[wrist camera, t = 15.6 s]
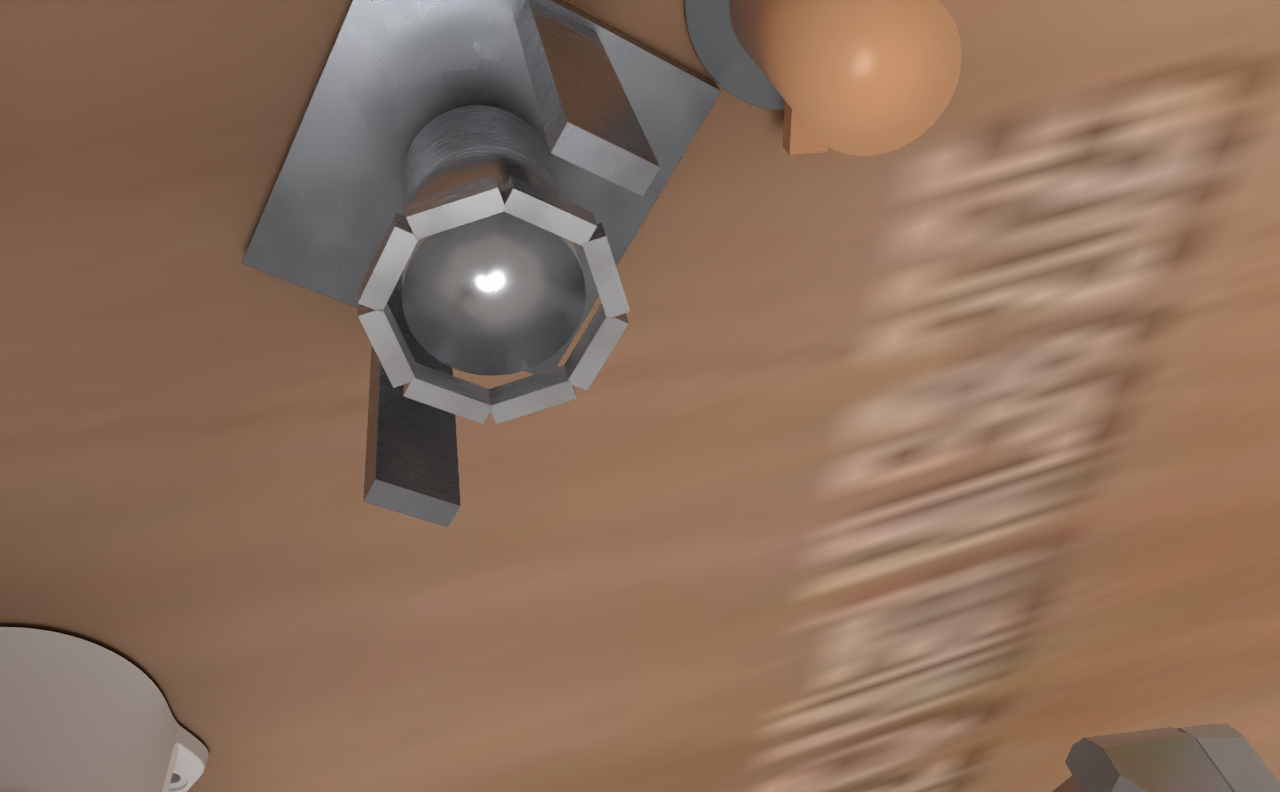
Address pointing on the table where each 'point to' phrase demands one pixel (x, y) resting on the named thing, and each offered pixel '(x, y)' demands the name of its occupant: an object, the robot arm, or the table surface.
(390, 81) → the grey ridged piece
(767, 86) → the grey rounded piece
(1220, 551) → the table surface
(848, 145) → the tan rounded piece
